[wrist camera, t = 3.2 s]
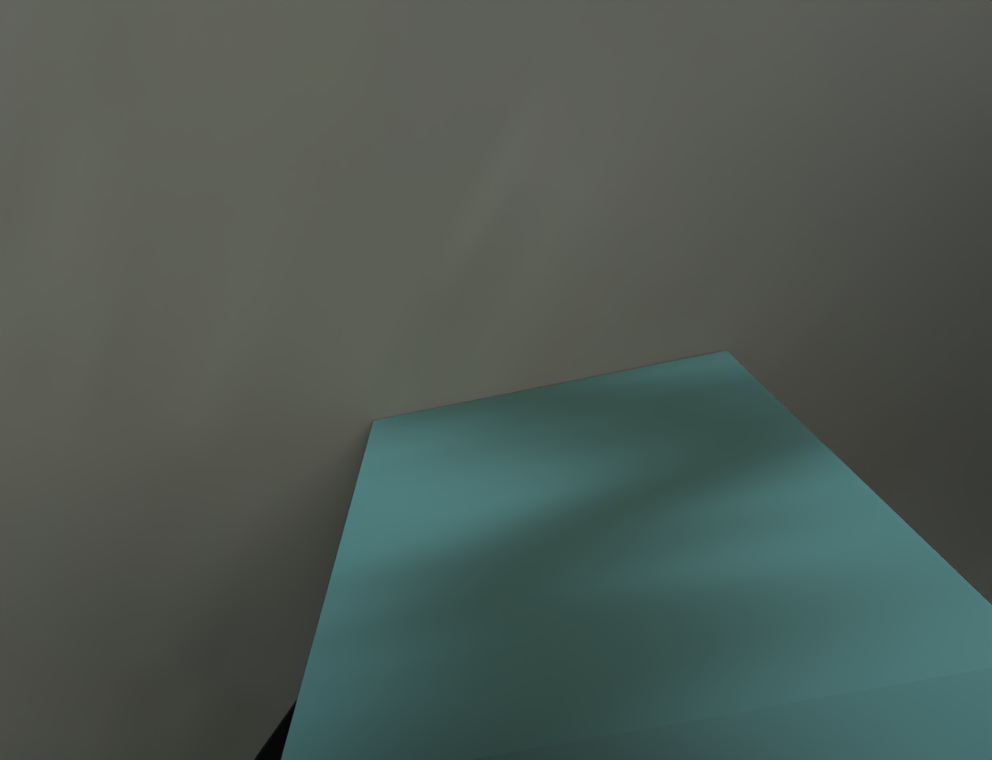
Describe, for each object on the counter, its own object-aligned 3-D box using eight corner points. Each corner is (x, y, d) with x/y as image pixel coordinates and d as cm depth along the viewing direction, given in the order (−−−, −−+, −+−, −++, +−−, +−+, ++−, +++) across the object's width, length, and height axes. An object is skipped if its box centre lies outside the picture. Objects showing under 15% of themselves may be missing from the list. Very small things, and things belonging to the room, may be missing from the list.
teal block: (726, 350, 8) (1046, 657, 4) (734, 611, 10) (944, 1005, 6) (373, 420, 8) (271, 793, 4) (452, 661, 11) (446, 1083, 6)
